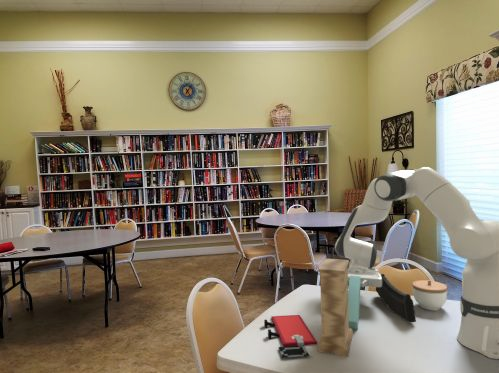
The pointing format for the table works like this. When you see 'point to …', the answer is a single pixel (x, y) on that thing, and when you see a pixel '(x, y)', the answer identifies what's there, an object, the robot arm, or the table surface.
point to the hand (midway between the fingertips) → (354, 284)
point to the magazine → (397, 300)
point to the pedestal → (334, 307)
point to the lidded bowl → (429, 294)
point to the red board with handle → (291, 335)
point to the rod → (354, 301)
